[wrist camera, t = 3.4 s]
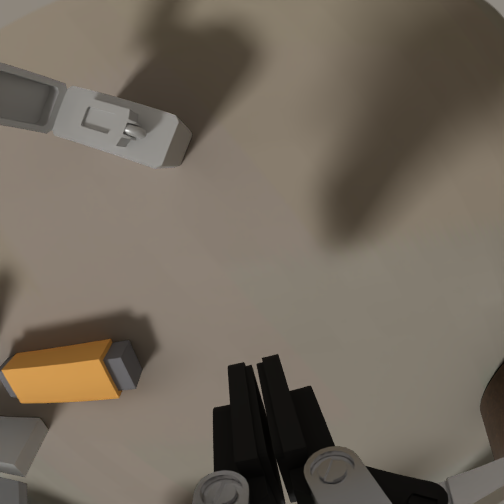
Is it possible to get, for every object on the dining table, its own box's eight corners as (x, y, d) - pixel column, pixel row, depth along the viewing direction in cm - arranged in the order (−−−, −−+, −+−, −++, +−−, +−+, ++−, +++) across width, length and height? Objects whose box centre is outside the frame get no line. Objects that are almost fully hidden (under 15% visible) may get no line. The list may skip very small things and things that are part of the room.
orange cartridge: (127, 335, 15) (116, 356, 13) (144, 373, 16) (136, 396, 14) (6, 354, 15) (-9, 370, 13) (24, 385, 16) (10, 403, 14)
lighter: (193, 131, 13) (156, 89, 5) (178, 168, 13) (123, 174, 6) (59, 91, 12) (-55, 52, 4) (46, 125, 12) (-75, 111, 4)
